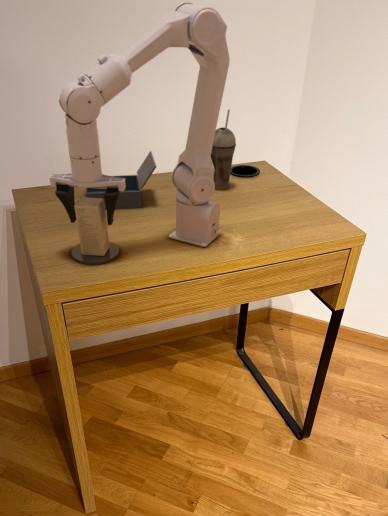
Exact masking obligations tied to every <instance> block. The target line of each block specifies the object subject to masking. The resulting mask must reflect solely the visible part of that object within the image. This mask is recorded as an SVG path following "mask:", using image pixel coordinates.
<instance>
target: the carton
mask: <svg viewBox="0 0 388 516" xmlns="http://www.w3.org/2000/svg"><path fill="white" fill-rule="evenodd" d="M112 176H113V177H118V178H125V184H126V188H125V190H124V191H120V193H119V196H118V199H117V202H116V205H115V210H125V209H128V210H129V209H142V207H143V206H142V201H143V200H142V189H141V188H140V184H139V180H138V175H137V174H132V175H131V174H129V175H125V174H124V175H112ZM106 191H107V189H99V188H85V198H103V199H104V194H105V192H106ZM104 206H105V211H107V209H106V203H105V199H104Z"/></svg>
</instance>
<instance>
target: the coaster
mask: <svg viewBox="0 0 388 516" xmlns="http://www.w3.org/2000/svg"><path fill="white" fill-rule="evenodd" d="M119 255H120V249H119V247H118V246H117V245H116V244H115V243H113V242H111V241H109V248H108V250H107V252H106V254H105V255H104V256H97V255H84V254H82V252H81V245H80V243H78V244H76V245H75V246H73V248H72V249H71V257H72V259H73V260H74V261H75V262H77V263H79V264H83V265H89V266H98V265H104V264H108V263H111V262H112V261H114V260H115V259H117V258H118V257H119Z"/></svg>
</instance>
